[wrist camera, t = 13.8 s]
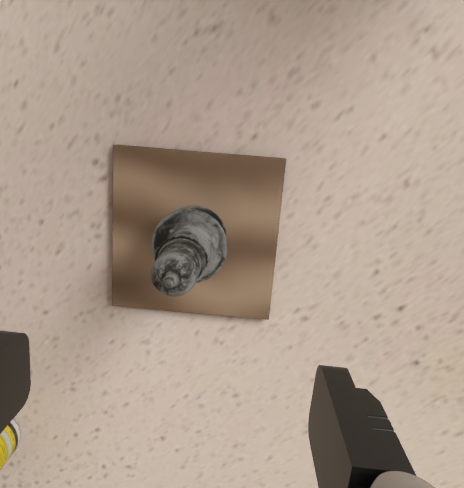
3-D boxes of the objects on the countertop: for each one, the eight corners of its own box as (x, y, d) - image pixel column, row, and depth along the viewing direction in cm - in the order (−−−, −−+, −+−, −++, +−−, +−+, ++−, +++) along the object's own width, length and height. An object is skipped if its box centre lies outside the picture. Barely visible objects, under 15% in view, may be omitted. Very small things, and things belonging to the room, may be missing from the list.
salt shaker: (237, 261, 35) (231, 321, 24) (171, 275, 36) (133, 341, 24) (220, 194, 34) (205, 223, 22) (152, 210, 34) (103, 246, 23)
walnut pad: (116, 144, 34) (113, 144, 33) (285, 158, 34) (286, 158, 33) (115, 302, 37) (112, 305, 37) (268, 315, 37) (268, 319, 36)
